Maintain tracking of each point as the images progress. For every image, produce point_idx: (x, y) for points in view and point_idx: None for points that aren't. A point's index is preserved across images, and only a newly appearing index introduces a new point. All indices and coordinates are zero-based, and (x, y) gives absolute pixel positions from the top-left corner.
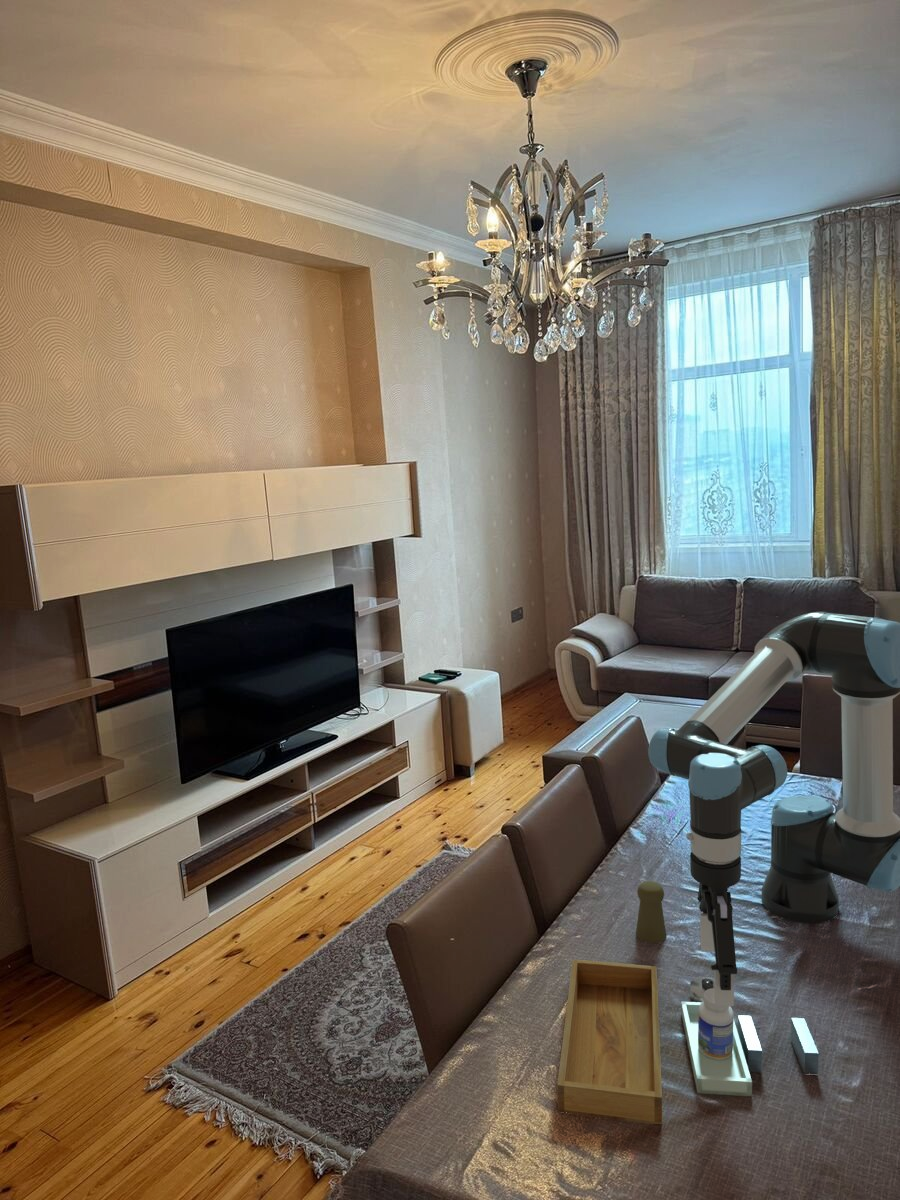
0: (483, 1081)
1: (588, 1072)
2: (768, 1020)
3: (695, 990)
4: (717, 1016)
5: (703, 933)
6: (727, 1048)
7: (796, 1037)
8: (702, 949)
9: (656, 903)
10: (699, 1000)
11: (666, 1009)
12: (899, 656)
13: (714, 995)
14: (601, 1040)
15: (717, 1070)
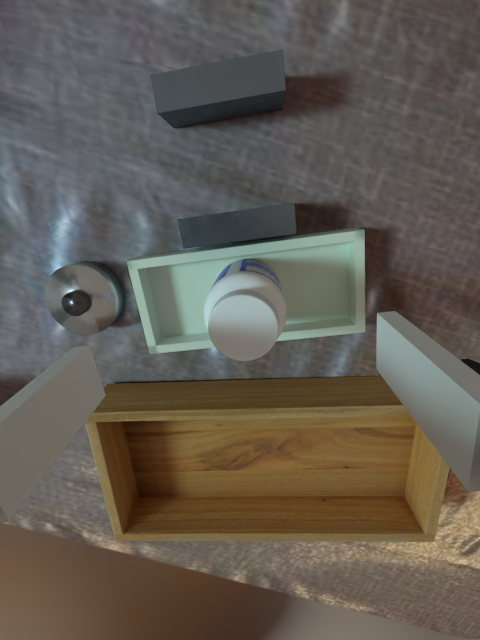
0: (360, 573)
1: (338, 473)
2: (124, 174)
3: (100, 324)
4: (278, 316)
5: (66, 435)
6: (274, 273)
7: (211, 109)
8: (101, 395)
9: None
10: (118, 314)
11: (151, 365)
12: None
13: (386, 382)
14: (266, 462)
15: (304, 287)
